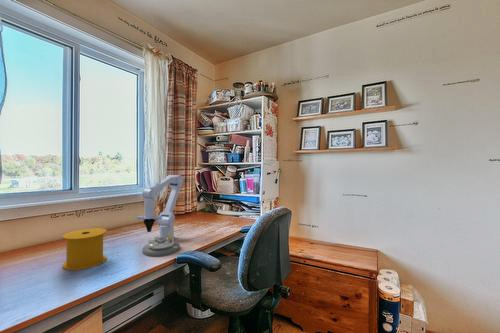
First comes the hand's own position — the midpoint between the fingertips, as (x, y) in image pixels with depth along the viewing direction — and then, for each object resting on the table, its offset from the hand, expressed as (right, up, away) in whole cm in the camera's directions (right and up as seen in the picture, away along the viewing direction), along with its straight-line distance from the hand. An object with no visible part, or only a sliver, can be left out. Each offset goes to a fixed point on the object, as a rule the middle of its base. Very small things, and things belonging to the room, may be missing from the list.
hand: (149, 231), depth 138 cm
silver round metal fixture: (+9, -7, -4) cm, 12 cm away
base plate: (+9, -10, -4) cm, 13 cm away
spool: (-23, -10, -22) cm, 33 cm away
